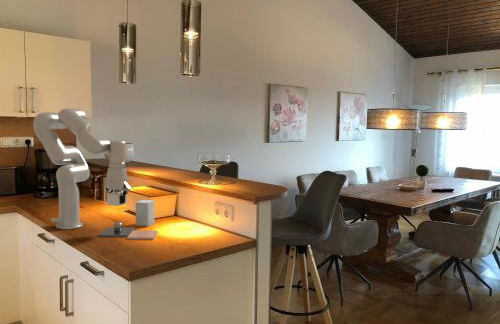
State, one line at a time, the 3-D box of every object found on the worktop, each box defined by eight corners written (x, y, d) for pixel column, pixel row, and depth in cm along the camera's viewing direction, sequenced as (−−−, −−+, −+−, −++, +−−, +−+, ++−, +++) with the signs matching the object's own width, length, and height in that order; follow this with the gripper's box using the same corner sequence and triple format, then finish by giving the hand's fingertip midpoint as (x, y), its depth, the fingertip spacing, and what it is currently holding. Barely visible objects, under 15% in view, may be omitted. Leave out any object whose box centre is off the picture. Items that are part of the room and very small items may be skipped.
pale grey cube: (107, 204, 201) (107, 192, 200) (116, 202, 206) (116, 190, 206) (117, 206, 198) (117, 193, 197) (126, 203, 204) (126, 191, 203)
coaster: (127, 239, 193) (127, 237, 193) (132, 232, 205) (132, 230, 205) (153, 239, 194) (153, 237, 194) (157, 232, 206) (157, 230, 205)
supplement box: (154, 223, 223) (155, 200, 222) (147, 226, 216) (147, 202, 215) (142, 222, 225) (142, 199, 224) (135, 225, 218) (135, 201, 217)
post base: (98, 236, 196) (98, 226, 195) (107, 229, 210) (107, 219, 209) (129, 237, 197) (129, 226, 196) (135, 229, 211) (135, 219, 210)
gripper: (98, 164, 201) (97, 201, 202) (125, 168, 193) (124, 206, 195) (109, 163, 207) (109, 199, 209) (136, 167, 200) (136, 203, 202)
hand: (116, 202), depth 202 cm, fingers closed on pale grey cube, 6 cm apart
